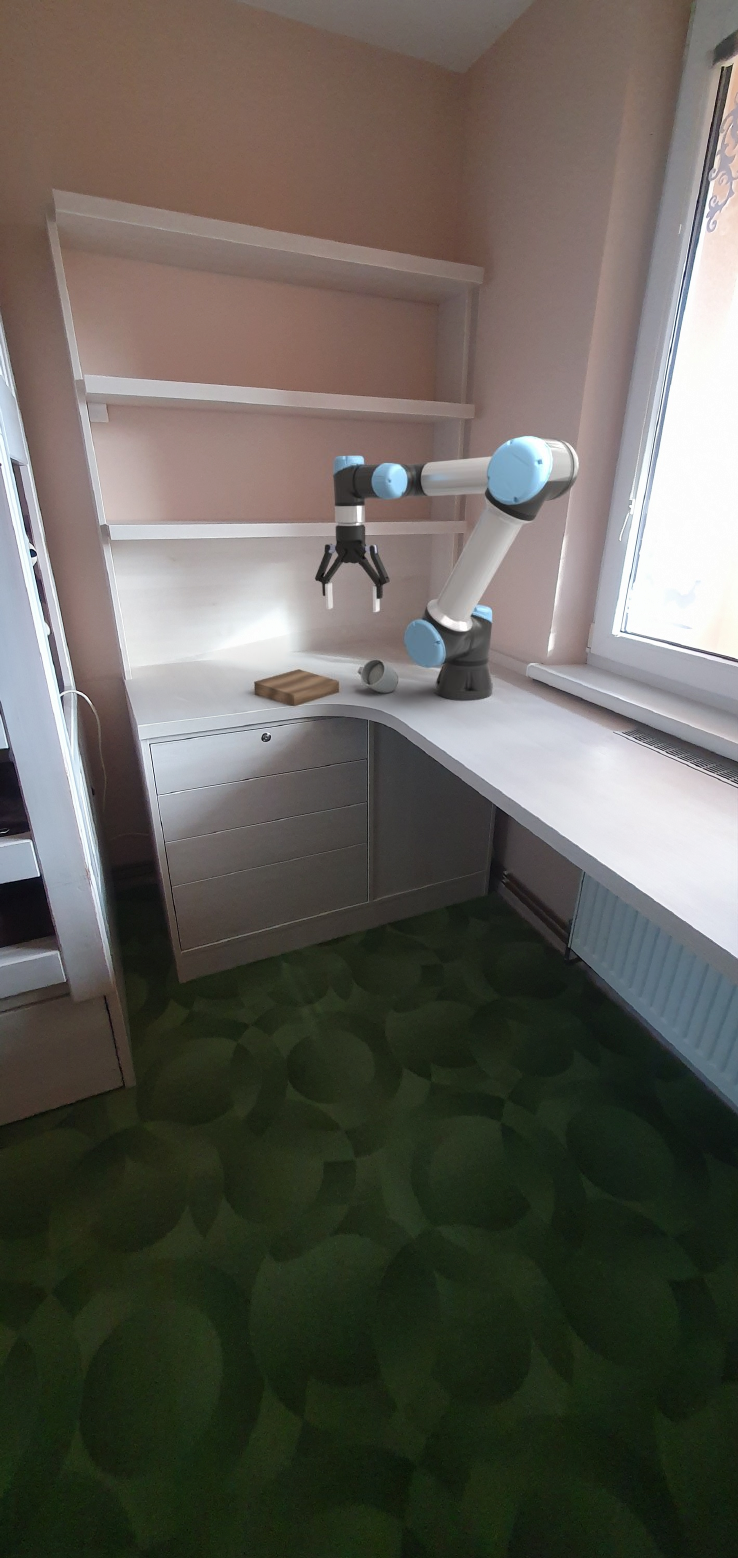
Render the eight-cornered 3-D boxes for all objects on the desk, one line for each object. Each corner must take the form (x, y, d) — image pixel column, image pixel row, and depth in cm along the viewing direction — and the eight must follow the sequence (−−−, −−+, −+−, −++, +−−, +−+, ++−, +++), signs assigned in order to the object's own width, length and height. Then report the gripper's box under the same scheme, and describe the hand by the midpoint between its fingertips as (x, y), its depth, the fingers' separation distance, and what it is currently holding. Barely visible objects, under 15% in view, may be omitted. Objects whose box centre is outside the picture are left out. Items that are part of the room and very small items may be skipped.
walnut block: (339, 695, 176) (338, 680, 174) (294, 710, 165) (294, 695, 164) (299, 682, 186) (298, 669, 184) (255, 696, 175) (254, 681, 173)
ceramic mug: (387, 700, 176) (406, 678, 173) (370, 691, 169) (389, 668, 167) (367, 678, 181) (384, 656, 179) (349, 668, 175) (367, 646, 172)
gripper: (402, 523, 162) (401, 610, 171) (312, 522, 171) (317, 605, 180) (391, 525, 156) (391, 615, 165) (299, 524, 165) (304, 609, 174)
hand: (352, 610), depth 172 cm, fingers open, 13 cm apart
